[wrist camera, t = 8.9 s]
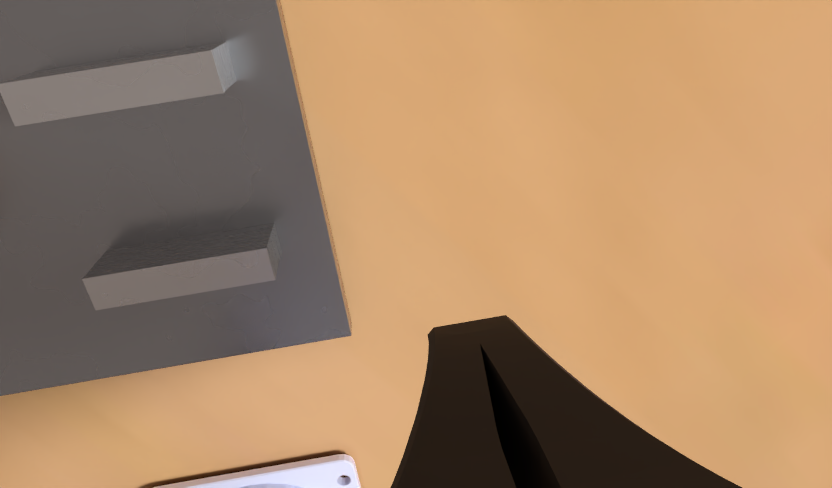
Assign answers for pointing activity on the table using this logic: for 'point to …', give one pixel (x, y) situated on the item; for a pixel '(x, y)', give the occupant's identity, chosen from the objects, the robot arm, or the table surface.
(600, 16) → the table surface
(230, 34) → the firebox plate
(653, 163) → the table surface
